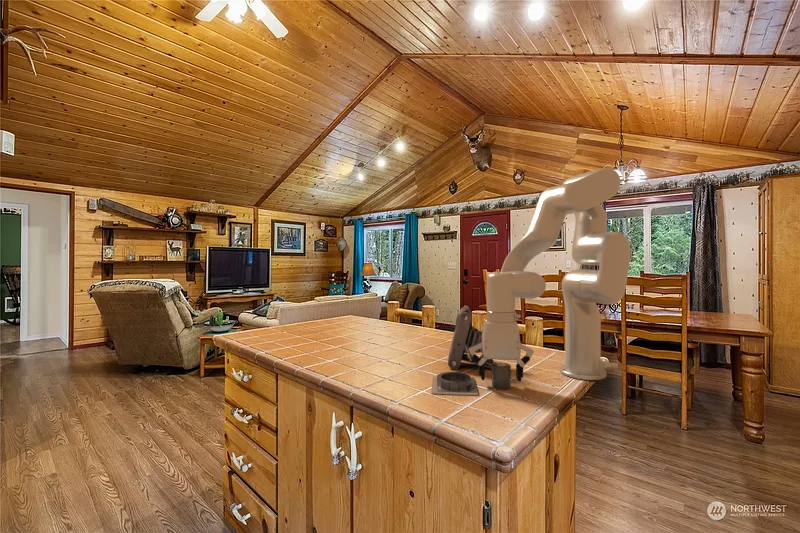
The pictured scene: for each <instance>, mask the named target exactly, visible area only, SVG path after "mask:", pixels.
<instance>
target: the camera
mask: <svg viewBox="0 0 800 533" xmlns="http://www.w3.org/2000/svg"><path fill="white" fill-rule="evenodd" d="M472 319H473V318H472V312H471V310H470V307H469V306H468V305H465V304H464V306H463V307H461V308H460V309H459V312H458V313H457V316H456V319H455V327H454V332H453V336H452V340H451V345H450V348H449V353H448V359H447V365H448V367H449V368H450V369H451V370H457V369H458V368H460V366H461V362H466V363H469V364H472V365H477V366H479V364H478V363H477V362H476V361H475V360H474V359H473V358H472V356H471V354H470V352H469V347H472V346H474V345H476V344H478V343H480V342H481V339H482V330H481V331H480V330H479V329H478V328H476V327H475V326H473V325H471V322H472ZM477 353H478V354H480V353H482V352H481V348H480V349H478V350H476V351H475V354H477ZM493 363H497V362H496V361H495V360H494V359H487V360H486V361H485V362H484V366H485V368H488V369H491V370H492V364H493Z"/></svg>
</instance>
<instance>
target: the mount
mask: <svg viewBox="0 0 800 533" xmlns="http://www.w3.org/2000/svg"><path fill="white" fill-rule="evenodd" d="M431 379H432V380H431V389H430V390H431V395H455V396H456V395H457V396H460V395H461V396H479V393H478V392H479V391H478V388H477V385H476V384H477V383H476V380H475V377H471V375H469V374H467V373H465V372H461V371H443V372H440V373H438V374H437V375H436V376H432V378H431Z"/></svg>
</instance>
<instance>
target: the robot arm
mask: <svg viewBox="0 0 800 533" xmlns="http://www.w3.org/2000/svg"><path fill="white" fill-rule="evenodd" d="M620 187H621V177H620V175H619V174H618V172H617V170H614V169H612V168H610V167H602V168H598V169H596V170H595V169H594V170H591V171H587V172H584V173H580V174H579V173H578V174H576V175H573V176H570V177H568V178H567V179H566V180H564V181H563V183H562V184H559V185H555V186H551V187H547V188H546V189H545V190H543V191H542V193H541V194H540V195H539V198H538V199H537V203H536V206H535V208H534V211H533V213H532V216H531V219H530V221H529V224H528V227H527V230H526V232H525V234H524V235H523V237H522V238H520V239H519V241H518V242H517V243H516V244H515V245H514V246H513V248H512V249H511V250H510V251H509V253H508V254H507V256H506V257H505V259H504V262H503V264H502V266H501V269H500V272H490V273H489V274H487V276H486V320H484V321H483V324H482V329H481V332H482V339H481V342H480V343H478V344H476V345H474V346H472V347H469V352H470V354H471V356H472V358H473V359H474V360H475V361H476V362H477V363H478V364H479V365H478V377H480V378H481V380H482V381H485V378H486V376H485V373H486V372H485V371H486V370H485V368H486V367H485V366H484V362H485V361H486V360H487V359H493V360H502V361H503V360H504V361H505V360H507V361H515V362H517V363H516V364H515V370H516V371H515V378H516V380H517V381H518V382H519V383H521V382H522V379H523V378H524V367H525V366H526V364H528V362H530V360H531V358H532V356H533V354H534V353H535V352H534V350H533V349H532V348H530V347H529V346H527V345H525V344H523V343H521V336H520V330H519V324H518V322H517V320H518V319H521V318H522V317H521V315H522V314H521V313H518V312H516V299H526V300H533V299H537V298H540V297H541V296H542V295H543V294H544V292H545V291H546V286H547V284H546V280H545V279H544V277H543V276H542V275H540V273H537V272H534V271H527V270H526V271H525V269H526V268H527V266H528V264H529V263H531V261H532V260H533V259H535V257H536V256H538V255H540V254H541V253H542V254H543V252H545V251H547V250H549V249H550V248H552V247H553V246H555V244H556V243H557V242H558V238H559V235H560V232H561V229H562V226H563V224H564V221H565V219H566V216H567V215H572V214H574V216H575V217H574V218H575V223H574V224H575V225H574V226H575V227H574V231H573V239H572V244H571V257H572V260H573V261H574V262H575V263H577V264H579V265H583V266H585V265H586V266H599V267H598V269H584V268H581V269H580V268H579V269H573V270H570V271H568V272H567V273H565V275H564V276H563V277H562V280H561V291H562V296H563V301H564V311H565V312H564V316H565V318H564V319H565V320H564V321H565V323H564V324H565V326H564V328H565V330H564V331H565V332H564V333H565V334H564V335H565V336H564V338H565V340H564V341H565V342H564V343H565V345H564V353H565V355H564V357H565V359H564V360H565V361H564V362H565V363H564V364H562V365H560V367H559V372H560V373H561V374H563V375H564V376H566V377H570V378H574V379H578V380H584V381H600V380H604V379H605V378H607V371H608V370H619V366H620V365H619V363H617V362H610V361H608V360H607V361H606V360H602V359H601V352H602V351H601V350H602V349H601V348H602V347H601V334H602V333H601V328H602V327H601V326H602V324H601V323H602V320H601V313H600V312H601V311H600V310H599V308H598V305H597V304H601V305H614V304H617V303H619V302H620V301H621V300H622V299H623V298H624V296H625V293H626V288H627V283H628V274H629V268H630V263H631V262H630V260H631V245H630V243H629V240H628V238H627V237H626V236H625V234H622V233H621V232H616V231H607V227H608V216H607V212H606V210H605V209H604V207H603V206H602V203H604V202H606V201H608V200H610V199H611V198H612V197H614V196H615V195H616V194H617V193H618V191H619V189H620ZM480 348H481V352H480V353H481V355H480V356H478V355H477V353H475V351H476V350H478V349H480ZM521 350H522V351H523V352H526V353H525V355H524V356H523V357H522V358H521Z"/></svg>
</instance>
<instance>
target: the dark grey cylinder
mask: <svg viewBox="0 0 800 533" xmlns="http://www.w3.org/2000/svg"><path fill="white" fill-rule="evenodd" d="M511 368H512V365H511V364H509V363H507V362H497V363H493V364H492V369H491V387H492V388H493V389H495V390H498V391H499V390H501V391H508V390H511V388H512V385H511V384H512V381H511V378H512V377H511V376H512V373H511V372H512V371H511V370H512V369H511Z"/></svg>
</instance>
